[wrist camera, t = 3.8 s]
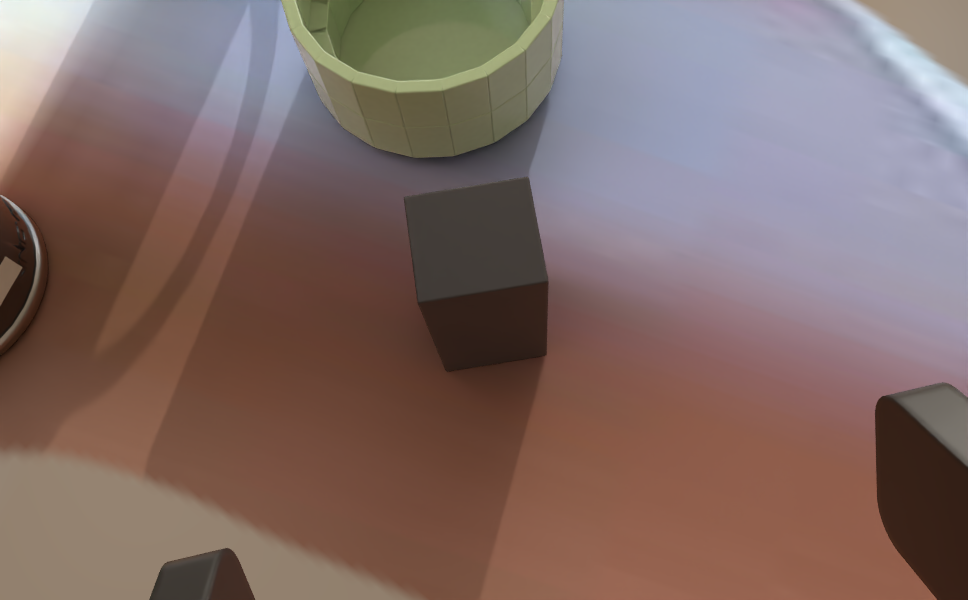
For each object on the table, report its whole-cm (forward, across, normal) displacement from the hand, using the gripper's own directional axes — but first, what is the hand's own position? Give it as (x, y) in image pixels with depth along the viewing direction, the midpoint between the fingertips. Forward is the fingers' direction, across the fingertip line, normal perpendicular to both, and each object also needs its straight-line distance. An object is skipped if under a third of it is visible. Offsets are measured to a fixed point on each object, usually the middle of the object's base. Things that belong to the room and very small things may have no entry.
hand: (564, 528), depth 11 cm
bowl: (+35, 0, -1) cm, 35 cm away
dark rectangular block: (+25, 0, +9) cm, 27 cm away
